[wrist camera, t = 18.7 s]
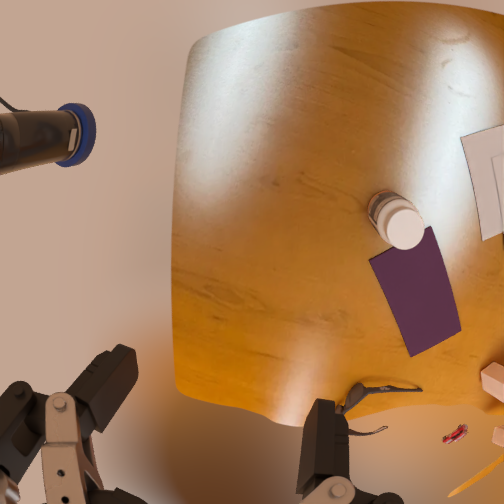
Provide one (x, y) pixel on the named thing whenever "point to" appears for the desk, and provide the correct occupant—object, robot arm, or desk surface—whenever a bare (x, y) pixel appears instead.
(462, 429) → the toy car
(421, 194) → the desk surface
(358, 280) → the desk surface
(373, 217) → the pill bottle
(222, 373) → the desk surface
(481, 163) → the paper stack
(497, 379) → the pile of blocks
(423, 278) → the cloth
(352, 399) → the sunglasses
